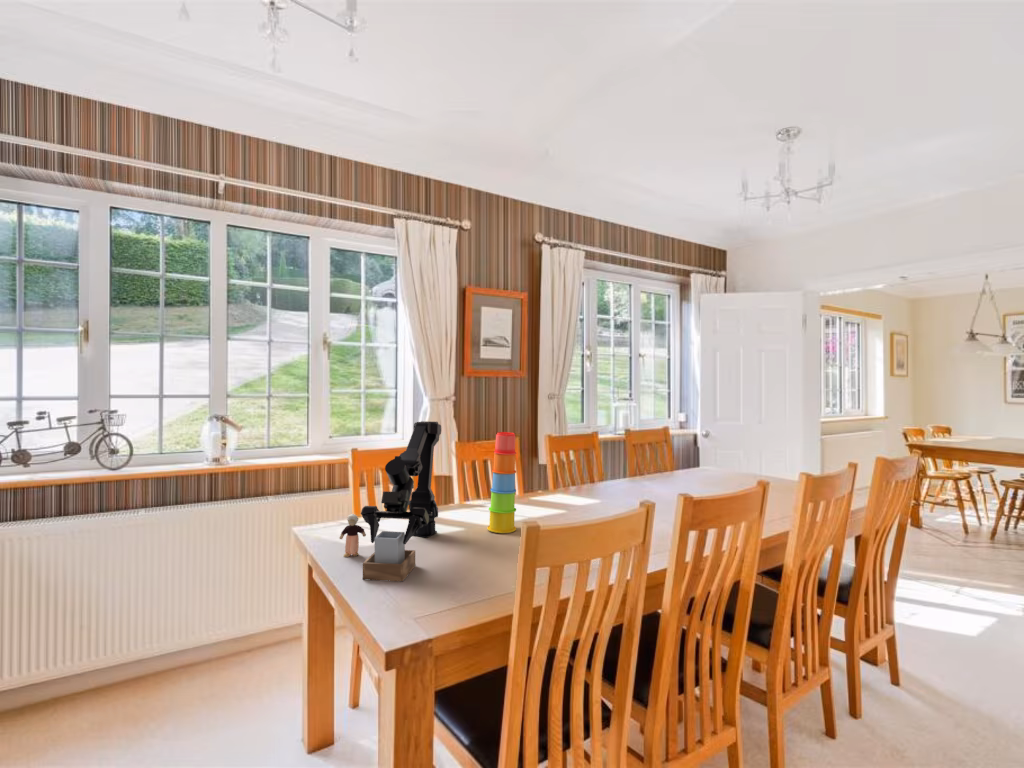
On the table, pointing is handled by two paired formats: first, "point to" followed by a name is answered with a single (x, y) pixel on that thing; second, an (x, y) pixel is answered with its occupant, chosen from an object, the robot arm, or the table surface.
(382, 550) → the grey upright prism
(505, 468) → the stacking cups
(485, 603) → the table surface
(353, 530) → the grandmother figurine
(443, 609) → the table surface
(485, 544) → the table surface
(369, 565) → the crate large
